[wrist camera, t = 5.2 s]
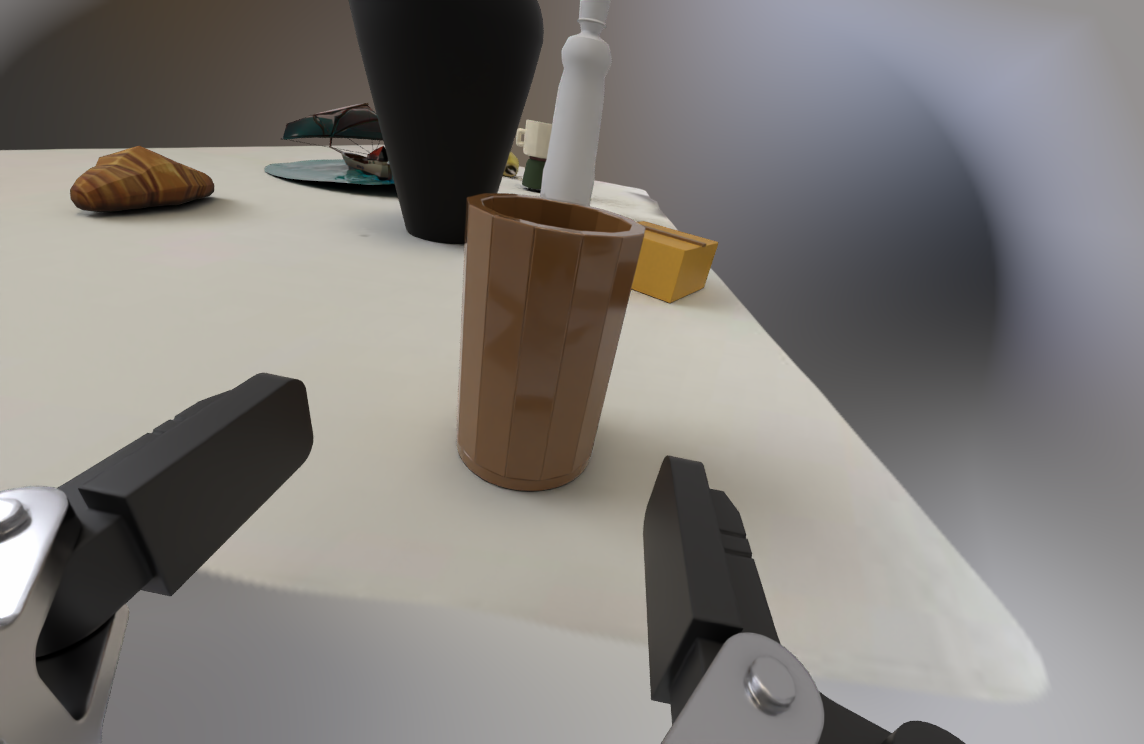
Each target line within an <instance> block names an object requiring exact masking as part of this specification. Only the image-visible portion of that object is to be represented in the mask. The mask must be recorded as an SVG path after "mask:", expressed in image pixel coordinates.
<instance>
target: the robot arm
mask: <svg viewBox="0 0 1144 744" xmlns="http://www.w3.org/2000/svg"><path fill="white" fill-rule="evenodd" d="M312 445H313V431H312V424H311V418H310V412H309V405H308V399H307V392H306V388H305V385H304V384H303V382H302V381H300V380H298V379H293V378H288V377H283V376H278V375H273V374H268V373H259V374H257V375H255V376H253V377H251V378H250V379H248V380H247V381H245V382H244V383H242V384H240V385H239V386H237V387H236V388H234V389H232V390H229V391H227V392H224V393H221V394H218V395H215V396H213V397H210V398H207V399H204V400H201V401H199V402H197V403H196V404H194V405H193V406H191V407H189V408H188V409H186V410H184V411H183V412H181V413H179V414H178V415H176V416H175V418H174V420H168V421H166V422H165V423H163V424H161V425H160V426H158V427H157V428H155V429H153V433H147V434H145V435H143V436H142V437H140V438H139V439H137V440H135V441H134V442H132V443H130V444H129V445H127V446H126V447H124V448H122V449H121V450H119V451H117V452H116V453H114V454H112V455H111V456H109V457H108V458H106V459H104V460H103V461H101V462H99V463H98V464H96V465H94V466H93V467H91V468H90V469H88V470H86V471H85V472H83V473H81V474H80V475H78V476H76V477H75V478H73V479H72V480H70V481H68V482H67V483H65V484H63V485H62V486H60V487H58V488H53V487H47V486H28V487H20V488H13V489H8V490H4V491H0V744H102V726H103V721H104V717H105V713H106V709H107V704H108V700H109V696H110V692H111V688H112V684H113V680H114V675H115V671H116V667H117V664H118V659H119V655H120V651H121V647H122V643H123V639H124V635H125V631H126V627H127V623H128V619H129V608H128V606H127V604H126V603H127V602H128V601H129V600H130V599H131V598H132V597H133V596H134V595H135V594H136V593H137V592H138V591H140V590H144V591H148V592H153V593H158V594H162V595H167V596H172V595H173V594H174V593H175V592H176V591H177V590H178V589H179V588H180V587H181V586H182V585H183V584H184V583H185V582H186V581H187V580H188V579H189V578H190V577H191V576H192V575H193V574H194V573H195V572H196V571H197V570H198V569H199V568H200V567H201V566H202V565H203V564H204V563H205V562H206V561H207V560H208V559H209V558H210V557H211V556H212V555H213V554H214V553H215V552H216V551H217V550H218V549H219V548H220V547H221V546H222V545H223V544H224V543H225V542H226V541H227V540H228V539H229V538H230V537H231V536H232V535H233V534H234V533H235V532H236V531H237V530H238V529H239V528H240V527H241V526H242V525H243V524H244V523H245V522H246V521H247V520H248V519H249V518H250V517H251V516H252V515H253V514H254V513H255V512H256V511H257V510H258V509H259V508H260V507H261V506H262V505H263V504H264V503H265V502H266V501H267V500H268V499H269V498H270V497H271V496H272V495H273V494H274V493H275V492H276V491H277V490H278V489H279V488H280V487H281V486H282V485H283V483H284V482H285V481H286V480H287V479H288V478H289V477H290V476H291V475H292V474H293V473H294V472H295V471H296V470H297V469H298V468H299V467H300V466H301V465H302V464H303V463H304V462H305V461H306V459H307V458H308V456H309V454H310V451H311V449H312ZM643 540H644V561H645V582H646V602H647V623H648V644H649V665H650V686H651V700H654V701H658V702H663V703H668V704H671V715H672V727H671V728H670V730H669V732H668V733H667V735H666V736H665V738H664V740H663V741H662V742H661V744H965V743H964V742H963V741H961V740H960V739H959V738H957V737H956V736H954V735H953V734H951V733H949V732H948V731H946V730H944V729H942V728H940V727H938V726H936V725H933V724H930V723H927V722H922V721H909V722H906V723H904V724H903V725H901V726H900V727H899V728H898V729H897V730H896V731H894V732H893V733H890V732H889V731H887V730H885V729H883V728H881V727H879V726H878V725H876V724H874V723H872V722H870V721H868V720H866V719H865V718H863V717H861V716H859V715H857V714H856V713H854V712H852V711H850V710H848V709H846V708H844V707H843V706H841V705H839V704H837V703H835V702H834V701H832V700H830V699H829V698H827V697H826V696H824V695H823V694H822V693H820V692H819V691H818V689H817V687H816V684H815V682H814V681H813V679H812V677H811V676H810V674H809V672H808V671H807V670H806V668H805V667H804V666H803V665H802V663H801V662H800V661H799V660H798V659H797V658H796V657H795V656H794V655H793V654H792V653H791V652H790V651H789V650H787V649H786V648H785V647H783V646H782V645H781V644H780V641H779V638H778V636H777V633H776V629H775V626H774V623H773V620H772V616H771V613H770V610H769V607H768V604H767V600H766V597H765V594H764V591H763V587H762V584H761V581H760V578H759V574H758V571H757V568H756V565H755V562H754V559H752V552H751V549H750V545H749V542H748V539H746V533H745V529H744V526H743V523H742V520H741V516H740V513H739V511H738V510H737V509H736V507H735V506H734V505H733V503H732V502H731V501H730V499H729V498H728V497H727V495H726V494H725V493H724V491H719V490H714V489H709V485H708V481H707V477H706V473H705V469H704V465H703V464H702V463H701V462H698V461H693V460H688V459H683V458H678V457H673V456H668V455H667V456H666V457H665V458H664V460H663V462H662V465H661V468H660V471H659V474H658V476H657V479H656V482H655V485H654V488H653V491H652V494H651V496H650V499H649V502H648V505H647V509H646V513H645V519H644V528H643Z"/></svg>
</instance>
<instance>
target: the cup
mask: <svg viewBox="0 0 1144 744" xmlns="http://www.w3.org/2000/svg"><path fill="white" fill-rule="evenodd" d="M644 233H645V227H644V226H642V225H640V224H639V223H637V222H635V221H633V220H632V219H629V218H627V217H624V216H621V215H618V214H615V213H612V212H609V211H606V210H603V209H599V208H594V207H590V206H586V205H582V204H578V203H573V202H568V201H562V200H556V199H550V198H544V197H537V196H528V195H518V194H489V193H484V194H479V195H475V196H471V197H468V198H467V202H466V225H465V247H464V270H463V292H462V315H461V337H460V360H459V382H458V405H457V449H458V453H459V455H460V457H461V459H462V460H463V462H464V464H465V465H466V466H467V467H468V468H469V469H470V470H471V471H472V472H473V473H475V474H476V475H477V476H479V477H480V478H482V479H484V480H486V481H488V482H490V483H492V484H495V485H498V486H500V487H504V488H508V489H513V490H520V491H541V490H548V489H552V488H556V487H559V486H562V485H565V484H567V483H569V482H571V481H572V480H574V479H575V478H577V477H578V476H579V475H580V474H581V473H582V472H583V471H584V470H585V468H586V467H587V465H588V463H589V460H590V457H591V453H592V449H593V445H594V441H595V436H596V432H597V428H598V424H599V420H600V416H601V412H602V407H603V403H604V399H605V395H606V391H607V387H608V383H609V378H610V374H611V370H612V366H613V362H614V358H615V354H616V350H617V345H618V341H619V337H620V333H621V329H622V325H623V321H624V316H625V312H626V308H627V304H628V300H629V296H630V292H631V287H632V283H633V279H634V275H635V271H636V267H637V263H638V259H639V254H640V250H641V246H642V242H643V238H644Z"/></svg>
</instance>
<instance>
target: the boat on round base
mask: <svg viewBox="0 0 1144 744" xmlns="http://www.w3.org/2000/svg"><path fill="white" fill-rule="evenodd" d="M312 137H319V138H321V137H322V138H330V146H329V147H330V148H332V149H334V150H336V151H338V152H340V153H342V156H343V159H344V160H309V161H299V162H292V163H278V164H270V165H268V166H266V167H265V172H267V173H270V174H272V175H276V176H280V177H284V178H291V179H300V180H313V181H331V182H343V183H354V184H370V185H379V184H381V185H384V184H391V185H395V183H394V179H393V175H392V171H391V168H390V164H389V162H388V161H389V160H388V156H387V152H386V149H385V148H384V146H382V147H380V148H378V149H377V148H376V150H374V151H373V152H372V153H370V152H369V153H370V154H368V156H367V157H364V156H361V155H357V154H353V153H346V152H342V151H340V150H338V149H337V148H333V147H331V143H332V138H357V139H371V140H383V137H382V133H381V129H380V125H379V121H378V117H377V113H375V112H374V111H373V110H372V109H371V108H370V107H369V106H368V103H363V104H358V105H352V106H348V107H343V108H338V109H333V110H330V111H325V112H322V113H318V114H314V115H311V116H308V117H305V118H302V119H299V120H296V121H294V122H291V123H288V124H287V125H286V129H285V133H284V136H283V138H281V139H286V140H287V139H294V138H312ZM383 141H384V140H383ZM378 145H379V144H378ZM324 147H326V146H324ZM360 147H361V146H360ZM372 147H373V145H372ZM377 147H378V146H377ZM363 149H364V148H363ZM341 150H343V149H341ZM346 151H348V150H346ZM366 151H367V150H366ZM352 152H354V151H352ZM358 153H359V152H358ZM363 154H365V153H363Z"/></svg>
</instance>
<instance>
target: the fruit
mask: <svg viewBox="0 0 1144 744" xmlns="http://www.w3.org/2000/svg"><path fill="white" fill-rule="evenodd" d="M518 167H519V161H518V159H517V157H515V156H514V155H513V154H512V153H511V152H510V154H509V157H508V160H507V164H506V167H505V170H504V173H503V175H504V176H510V177H513V176H515V175H516V174H517V173H518Z"/></svg>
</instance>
